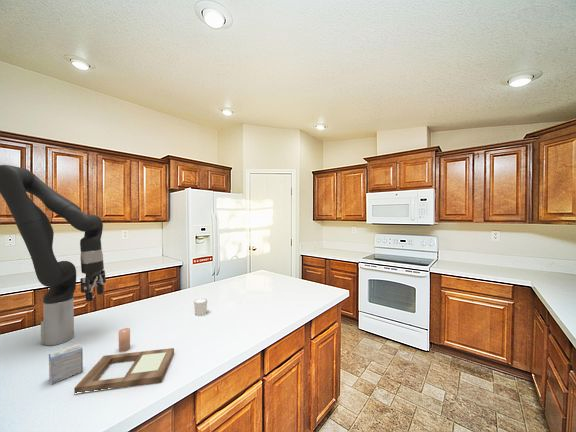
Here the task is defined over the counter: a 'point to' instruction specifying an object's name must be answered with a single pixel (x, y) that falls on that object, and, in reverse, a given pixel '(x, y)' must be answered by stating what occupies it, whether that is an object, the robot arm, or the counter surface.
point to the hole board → (142, 371)
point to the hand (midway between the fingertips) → (95, 297)
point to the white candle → (200, 307)
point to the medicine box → (65, 363)
